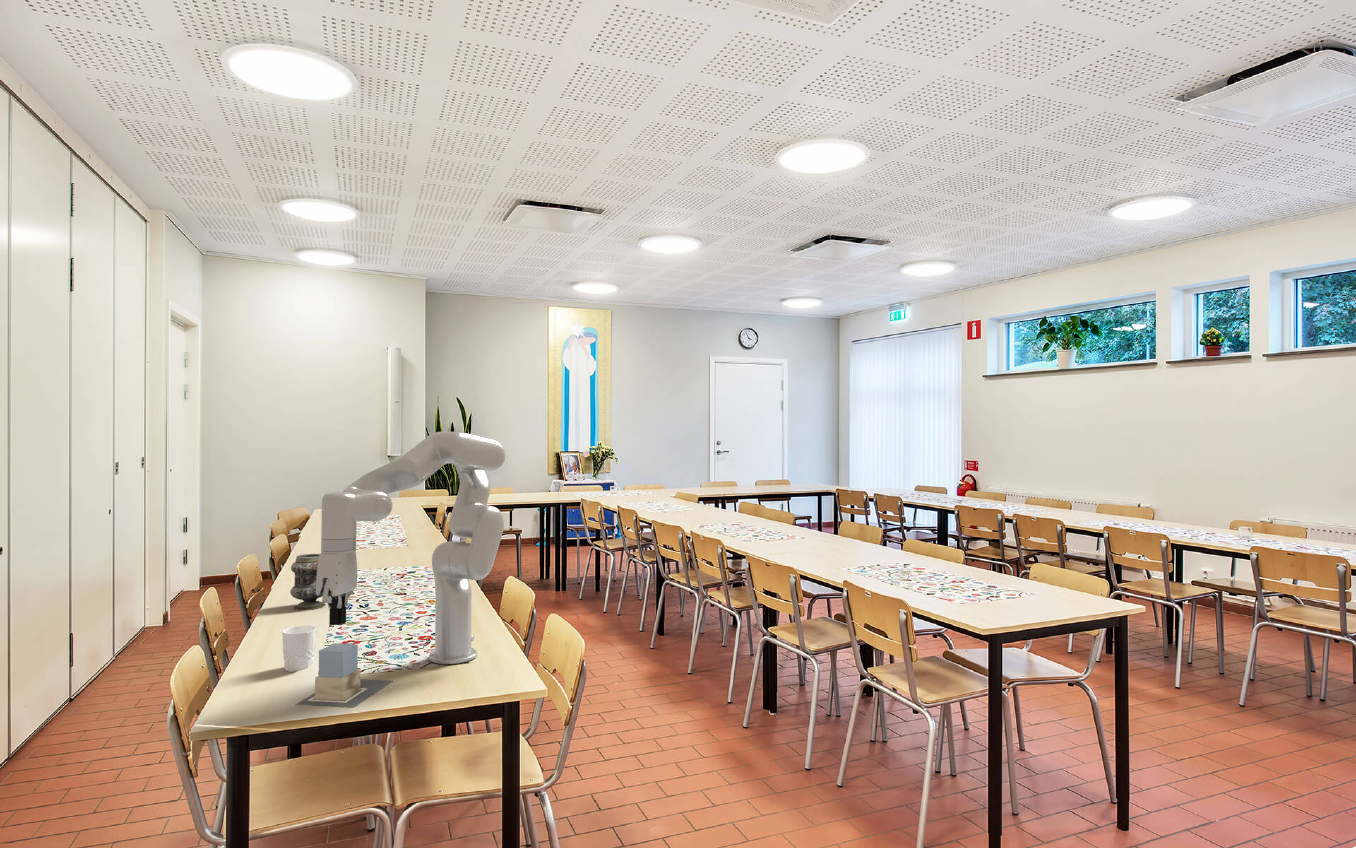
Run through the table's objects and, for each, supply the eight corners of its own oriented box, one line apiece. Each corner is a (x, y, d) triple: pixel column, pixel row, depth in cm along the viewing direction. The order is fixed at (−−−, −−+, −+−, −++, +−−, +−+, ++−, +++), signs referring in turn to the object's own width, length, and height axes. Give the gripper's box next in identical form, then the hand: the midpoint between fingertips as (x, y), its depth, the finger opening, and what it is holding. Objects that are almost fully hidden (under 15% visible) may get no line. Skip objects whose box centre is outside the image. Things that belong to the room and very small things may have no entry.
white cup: (307, 661, 202) (307, 624, 202) (321, 667, 197) (321, 629, 197) (276, 668, 196) (276, 630, 196) (290, 675, 191) (290, 635, 191)
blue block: (333, 668, 180) (334, 643, 180) (357, 669, 179) (357, 644, 179) (318, 676, 174) (318, 650, 174) (343, 678, 173) (343, 651, 173)
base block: (332, 688, 180) (332, 668, 180) (360, 690, 179) (360, 669, 179) (315, 699, 173) (315, 677, 173) (343, 701, 172) (343, 679, 172)
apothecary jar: (323, 601, 272) (323, 551, 272) (332, 607, 262) (333, 555, 263) (286, 606, 264) (286, 554, 264) (294, 612, 255) (295, 559, 255)
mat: (340, 679, 188) (340, 677, 188) (393, 682, 186) (394, 680, 186) (295, 706, 170) (295, 704, 170) (353, 709, 168) (353, 707, 168)
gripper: (342, 540, 184) (341, 615, 184) (304, 549, 169) (302, 631, 169) (370, 541, 183) (369, 617, 183) (335, 550, 168) (334, 633, 168)
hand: (337, 624), depth 176 cm, fingers closed
